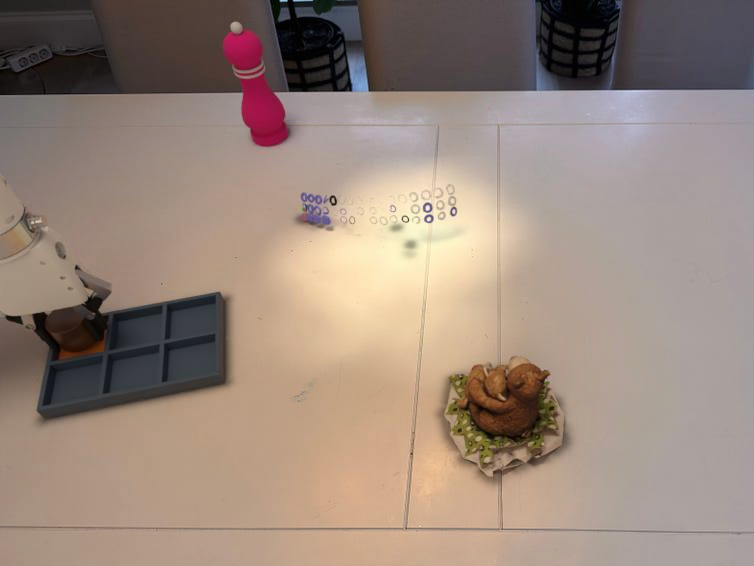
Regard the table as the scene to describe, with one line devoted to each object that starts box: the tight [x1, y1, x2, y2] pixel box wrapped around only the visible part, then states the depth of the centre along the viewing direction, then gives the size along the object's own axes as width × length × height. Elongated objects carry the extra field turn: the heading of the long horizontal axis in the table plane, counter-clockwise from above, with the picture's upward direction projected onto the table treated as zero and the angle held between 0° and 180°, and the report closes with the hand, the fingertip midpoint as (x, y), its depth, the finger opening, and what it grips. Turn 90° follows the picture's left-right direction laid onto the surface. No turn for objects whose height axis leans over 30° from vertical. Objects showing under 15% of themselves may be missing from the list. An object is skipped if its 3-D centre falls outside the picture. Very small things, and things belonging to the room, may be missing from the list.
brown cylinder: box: [44, 307, 97, 353], centre depth 87 cm, size 5×5×4 cm
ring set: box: [300, 183, 458, 248], centre depth 99 cm, size 25×12×12 cm, turn 72°
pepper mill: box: [222, 21, 289, 147], centre depth 111 cm, size 7×7×20 cm
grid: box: [36, 291, 226, 420], centre depth 88 cm, size 15×22×2 cm
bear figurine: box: [443, 355, 565, 478], centre depth 77 cm, size 14×15×12 cm
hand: (78, 336), depth 89 cm, fingers closed on brown cylinder, 5 cm apart
